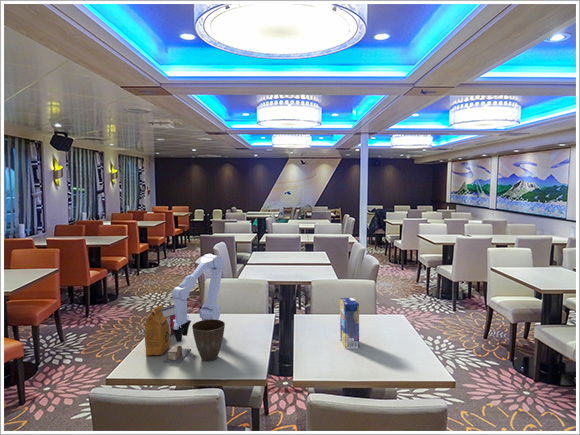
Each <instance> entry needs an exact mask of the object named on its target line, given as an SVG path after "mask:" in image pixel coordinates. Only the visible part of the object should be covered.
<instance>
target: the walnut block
mask: <svg viewBox="0 0 580 435" xmlns="http://www.w3.org/2000/svg"><path fill="white" fill-rule="evenodd" d="M182 346H183V345H173V346H172V347H171V348H170V349H169V350H168V351H167V357H168V360H177V359H178V358H179V357H180V356H181V355H182V349H183V347H182Z"/></svg>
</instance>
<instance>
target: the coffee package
mask: <svg viewBox="0 0 580 435" xmlns="http://www.w3.org/2000/svg"><path fill="white" fill-rule="evenodd" d="M162 308H164V306H163V304H160V305H157V306H156V307H155V308H153V310H151V312H150V314H149V316H148V318H147V319H146V321H145V325H144V345H145V356H147V357H149V356H160V355H161V356H162V355H163V354H164V353H165V352H166V351H167V350H168V348H169V347H170V346H171V341H170V340H171V339H170V335H169V324H168V321H167V319H166V318H165V316H164V315H163V313H162V310H161V309H162Z"/></svg>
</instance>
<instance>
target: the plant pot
mask: <svg viewBox="0 0 580 435" xmlns="http://www.w3.org/2000/svg"><path fill="white" fill-rule="evenodd" d="M191 325H192V326H191V327H192V328H191V329H192V334H193V338H194V341H195V346H196V349H197V352H198V354H199V357H200V359H201V360H202V361H204V362H211V361H212V362H213V361H215V360H216V359H218V357H219V353H220V350H221V347H222V344H223V338H224V335H225V334H224V333H225V325H226V324H225V321H223V320H221V319H218V320H216V319H208V320H202V319H201V320H198V321H196V322H194V323H193V324H191Z"/></svg>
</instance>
